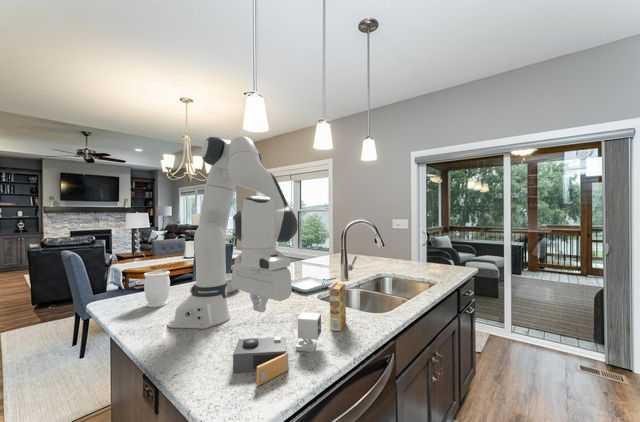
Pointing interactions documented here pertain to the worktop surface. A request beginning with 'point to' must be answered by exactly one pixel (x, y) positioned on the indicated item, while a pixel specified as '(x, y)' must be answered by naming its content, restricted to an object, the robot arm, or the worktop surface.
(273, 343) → the grey knob box
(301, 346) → the security camera
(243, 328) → the worktop surface
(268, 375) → the door
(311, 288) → the salad plate
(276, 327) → the worktop surface
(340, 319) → the candy box
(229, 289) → the paper bowls
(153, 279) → the jar
